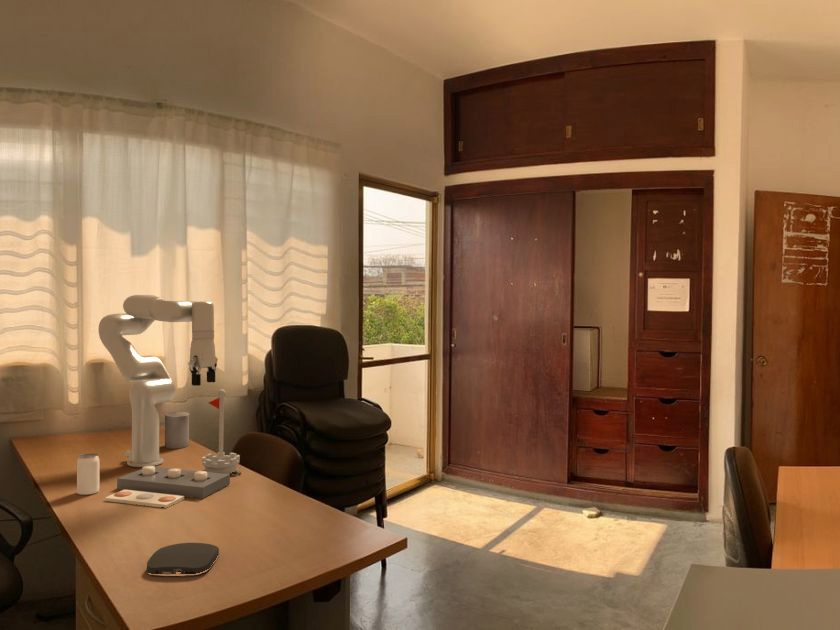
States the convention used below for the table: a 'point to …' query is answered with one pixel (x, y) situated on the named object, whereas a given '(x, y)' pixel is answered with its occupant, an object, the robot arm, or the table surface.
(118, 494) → the pattern card
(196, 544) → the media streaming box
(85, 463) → the can
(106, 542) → the table surface
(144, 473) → the left button
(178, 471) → the middle button
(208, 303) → the robot arm
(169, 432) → the pillar candle
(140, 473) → the button panel
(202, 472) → the right button
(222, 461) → the flag stand
